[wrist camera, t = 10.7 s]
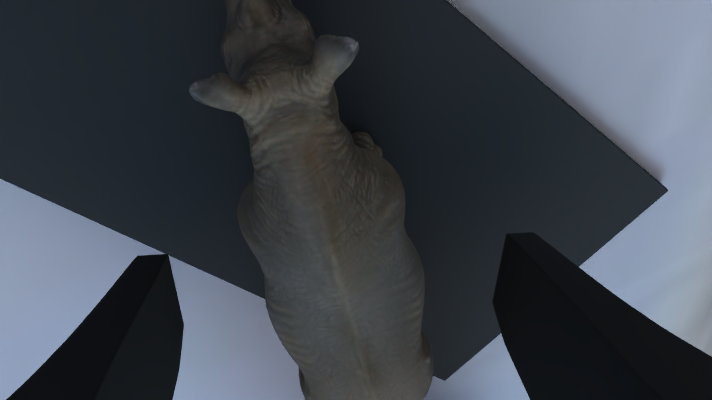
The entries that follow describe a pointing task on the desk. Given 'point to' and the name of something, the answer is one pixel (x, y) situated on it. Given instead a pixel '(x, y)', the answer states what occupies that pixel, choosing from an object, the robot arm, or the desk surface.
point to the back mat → (356, 111)
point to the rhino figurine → (321, 211)
